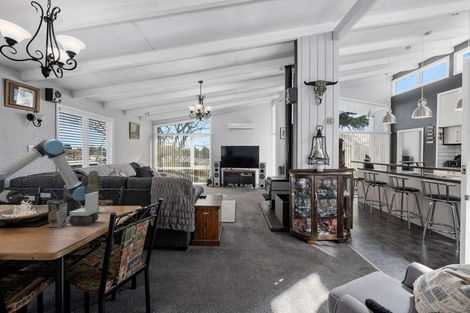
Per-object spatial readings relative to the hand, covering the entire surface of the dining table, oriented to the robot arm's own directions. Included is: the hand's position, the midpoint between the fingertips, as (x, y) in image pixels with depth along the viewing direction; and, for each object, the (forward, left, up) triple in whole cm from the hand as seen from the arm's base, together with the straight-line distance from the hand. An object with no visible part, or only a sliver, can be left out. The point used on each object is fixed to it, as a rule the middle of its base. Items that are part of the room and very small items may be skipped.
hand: (42, 196), depth 164 cm
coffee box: (0, +10, -20) cm, 22 cm away
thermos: (-38, +12, -20) cm, 45 cm away
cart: (-7, +24, -20) cm, 32 cm away
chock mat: (-11, +10, -20) cm, 25 cm away
